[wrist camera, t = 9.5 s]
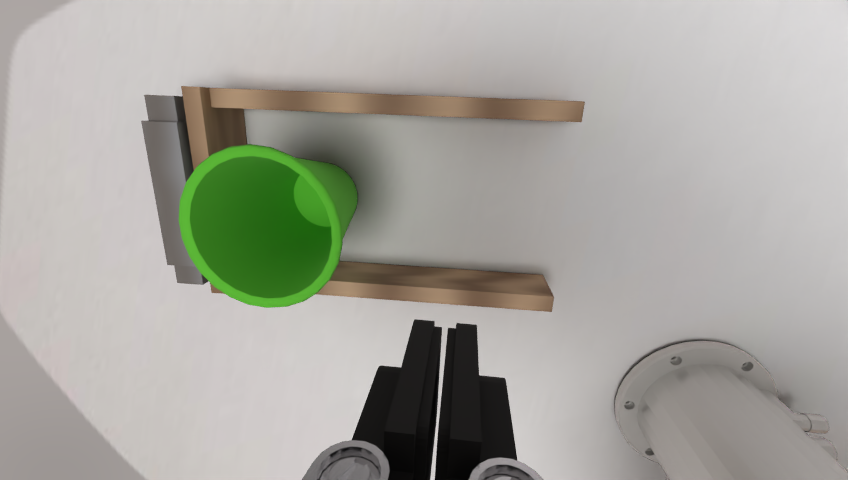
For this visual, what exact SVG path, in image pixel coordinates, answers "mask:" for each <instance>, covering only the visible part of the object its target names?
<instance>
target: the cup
mask: <svg viewBox="0 0 848 480" xmlns="http://www.w3.org/2000/svg"><path fill="white" fill-rule="evenodd" d="M357 201H358V200H357V190H356V187H355V184H354V182H353V181H352V179H351V177H350V176H349V175H348V174H347V173H346V172H345V171H344V170H343V169H341V168H340V167H338V166H336V165H333V164H331V163H325V162H319V161H312V160H306V159H300V158H294V157H293V156H291V155H289V154H286V153H284V152H281V151H279V150H276V149H274V148H271V147H265V146H258V145H252V144H249V145H240V146H231V147H228V148H225V149H223V150H221V151H218V152H216V153H213V154H211V155H210V156H209V157H208V158H206V159H205V160H204V161H203V162H202V163H200V164H199V165H198V166H197V167H196V169H195V170H194V172H193V173H192V174H191V176H190V177H189V179H188V180H187V182H186V184H185V187H184V190H183V193H182V196H181V199H180V205H179V225H180V231H181V236H182V240H183V242H184V245H185V247H186V250H187V252H188V254H189V257H190V258H191V260H192V261H193V263H194V264H195V266H196V267H197V269H198V270H199V271H200V273H201V274H202V275H203V276H204V277H205V278H206V279H207V280H208V281H209V282H210V283H211V284H212V285H213V286H214V287H216V288H217V289H219V290H220V291H222V292H223V293H225V294H226V295H228V296H229V297H231V298H234V299H236V300H239V301H241V302H244V303H246V304H249V305H255V306H260V307H266V308H268V307H286V306H290V305H293V304H296V303H300V302H303V301H305V300H307V299H308V298H310V297H311V296H313V295H315V294H316V293H318V292H319V291H320V290H321V289H322V288H323V287H324V286H325V284H326V283H327V282H328V281H329V280H330V279H331V277H332V275H333V273H334V271H335V269H336V267H337V265H338V263H339V259H340V254H341V249H342V239H343V237H344V235H345V232H346V230H347V228H348V226H349V223H350V221H351V219H352V217H353V214H354V212H355V210H356V206H357Z"/></svg>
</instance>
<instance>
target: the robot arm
mask: <svg viewBox="0 0 848 480" xmlns="http://www.w3.org/2000/svg"><path fill="white" fill-rule="evenodd" d="M441 335H442V327H434V321H426V320H414V322H413V326H412V330H411V333H410V337H409V341H408V344H407V348H406V352H405V356H404V359H403V363H402V367H401V368H399V367H389V366H379V368H378V370H377V372H376V375H375V378H374V381H373V383H372V386H371V389H370V392H369V394H368V397H367V400H366V403H365V405H364V408H363V411H362V413H361V416H360V419H359V422H358V424H357V427H356V430H355V433H354V435H353V438H352V440H351V441H344V442H340V443H338V444H335V445H333V446H330V447H329V448H328V449H326V450H325V451H323V452H322V453H321V454H320V455H319V456H318V457H317V458H316V459H315V461H314V462H313V463H312V465H311V466H310V468H309V469H308V471H307V473H306V474H305V476H304V477H303V479H302V480H430V475H431V465H432V456H433V446H434V437H435V428H436V417H437V402H438V385H439V368H440V351H441ZM615 415H616V421H617V423H618V426H619V428H620V430H621V432H622V434H623V436H624V437H625V439H626V441H627V442H628V443H629V445H630V446H631V447H632V448H633V449H634V450H635V451H637V452H638V453H639V454H641V455H642V456H644V457H645V458H647V459H650V460H652V461H654V462H657V463H659V464H661V466H662V468H663V470H664V471H665V473H666V475H667V477H668V478H669V480H848V471H847V470H846V469H844V468H843V467H842V466H841V465H840V464H839V463H838V462H837V461H836V460H837V452H836V449H835V447H834V445H833V444H832V443H831V442H830V441H829V440H827V439H826V438H821V437H810V436H809V435H808V434H807V433H805V432H811V433H827V432H828V431H829V424H828V421H827V420H826V419H825V418H824V417H823V416H821V415H818V414H806V413H799V414H797V413H794V412H792V411H791V410H790V409H789V408H788V407H787V406H786V405H785V404H784V403H782V402H781V401H780V400H779V399H778V397H777V389H776V386H775V383H774V380H773V379H772V377H771V375H770V374H769V372H768V371H767V370H766V369H765V368H764V367H763V366H762V365H761V364H760V363H759V362H758V361H757V360H756V359H754V358H753V357H752V356H750V355H749V354H747V353H746V352H745V351H743V350H740V349H738V348H736V347H734V346H732V345H728V344H724V343H720V342H711V341H693V342H684V343H680V344H676V345H671V346H669V347H666V348H664V349H661V350H659V351H656V352H655V353H653V354H651V355H650V356H648V357H646V358H644V359H643V360H642V361H641V362H639V363H638V364H637V365H636V366H635V367H633V369H632V370H631V371H630V372H629V373H628V374H627V376H626V377H625V378H624V380H623V382H622V383H621V385H620V387H619V389H618V392H617V396H616V399H615ZM435 480H543V479H542V478H541V476H540V475H539V474H538V473H537V472H536V471H535V470H533V469H532V468H530V467H529V466H527V465H526V464H524V463H521V462H519V461H517V455H516V448H515V441H514V434H513V427H512V421H511V414H510V407H509V400H508V393H507V386H506V381H505V378H499V377H489V376H479V367H478V343H477V325H471V324H460V323H457V324H456V329H455V328H448V335H447V345H446V356H445V366H444V376H443V387H442V397H441V408H440V418H439V429H438V441H437V456H436V472H435Z"/></svg>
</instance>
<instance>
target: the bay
mask: <svg viewBox="0 0 848 480" xmlns="http://www.w3.org/2000/svg"><path fill="white" fill-rule="evenodd" d="M181 88H182V94H183V97H181V96H159V95H144V96H145V102H146V107H147V113H148V119H149V121H141V122H142V128H143V133H144V139H145V144H146V150H147V155H148V161H149V166H150V172H151V177H152V183H153V188H154V194H155V199H156V204H157V210H158V215H159V221H160V226H161V232H162V237H163V243H164V248H165V254H166V259H167V265H174V266H175V272H176V278H177V283H186V284H200V285H203V284H205V283H206V282H208V280H207V279H206V278H205V277H204V276H203V275H202V274H201V273H200V271H199V270H198V269H197V267H196V266H195V264H194V263H193V261H192V260H191V258H190V257H189V254H188V252H187V250H186V247H185V245H184V242H183V240H182V236H181V231H180V225H179V205H180V199H181V196H182V193H183V190H184V187H185V184H186V182H187V180H188V179H189V177H190V176H191V174H192V173H193V172H194V170H195V169H196V167H197V166H198V165H199V164H200V163H202V162H203V161H204V160H205V159H206V158H208V157H209V156H210V155H211V154H213V153H216V152H218V151H221V150H223V149H225V148H228V147H231V146H240V145H247V139H246V129H245V119H244V110H243V109H266V110H291V111H316V112H341V113H366V114H391V115H416V116H441V117H466V118H491V119H516V120H541V121H566V122H582V116H583V109H584V103H585V102H582V101H555V100H527V99H500V98H472V97H444V96H417V95H389V94H362V93H334V92H307V91H279V90H251V89H224V88H205V87H186V86H181ZM210 284H211V283H210ZM211 291H212V293H223V292H222V291H220V290H219V289H217V288H216V287H214V286H213V285H212V284H211ZM223 294H225V293H223ZM316 294H320V295H333V296H347V297H360V298H374V299H387V300H400V301H414V302H427V303H441V304H454V305H467V306H481V307H494V308H507V309H521V310H534V311H548V312H552V307H553V300H554V296H553V294H552V292H551V290H550V288H549V286H548V284H547V282H546V280H545V278H544V276H543V275H537V274H522V273H507V272H493V271H478V270H463V269H449V268H434V267H419V266H405V265H390V264H375V263H361V262H346V261H339V263H338V265H337V267H336V269H335V271H334V273H333V275H332V277H331V279H330V280H329V281H328V282H327V283H326V284H325V286H324V287H323V288H322V289H321V290H320V291H319V292H318V293H316Z"/></svg>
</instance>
